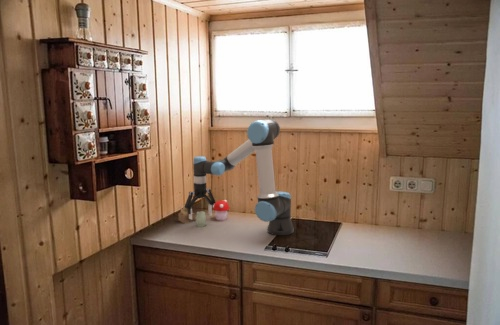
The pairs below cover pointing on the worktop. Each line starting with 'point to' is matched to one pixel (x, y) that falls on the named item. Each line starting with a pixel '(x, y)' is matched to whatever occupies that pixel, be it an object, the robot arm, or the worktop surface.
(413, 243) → the worktop surface
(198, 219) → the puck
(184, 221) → the tower base
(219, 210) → the mushroom
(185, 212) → the tower top
